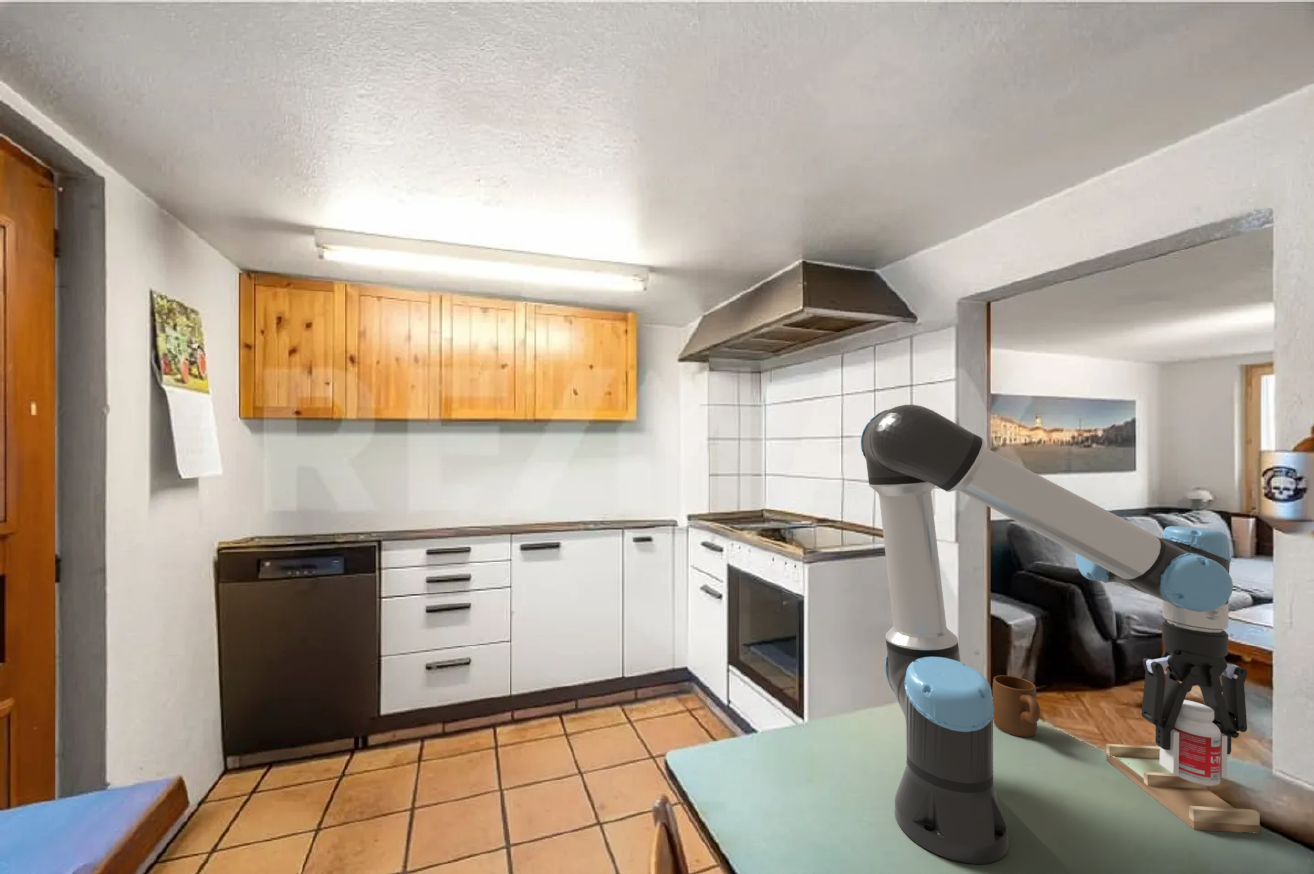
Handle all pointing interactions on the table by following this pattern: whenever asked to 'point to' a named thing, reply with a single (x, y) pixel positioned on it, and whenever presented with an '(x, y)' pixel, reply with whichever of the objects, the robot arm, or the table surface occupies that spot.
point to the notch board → (1180, 791)
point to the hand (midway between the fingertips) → (1192, 770)
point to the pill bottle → (1198, 744)
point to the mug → (1015, 706)
